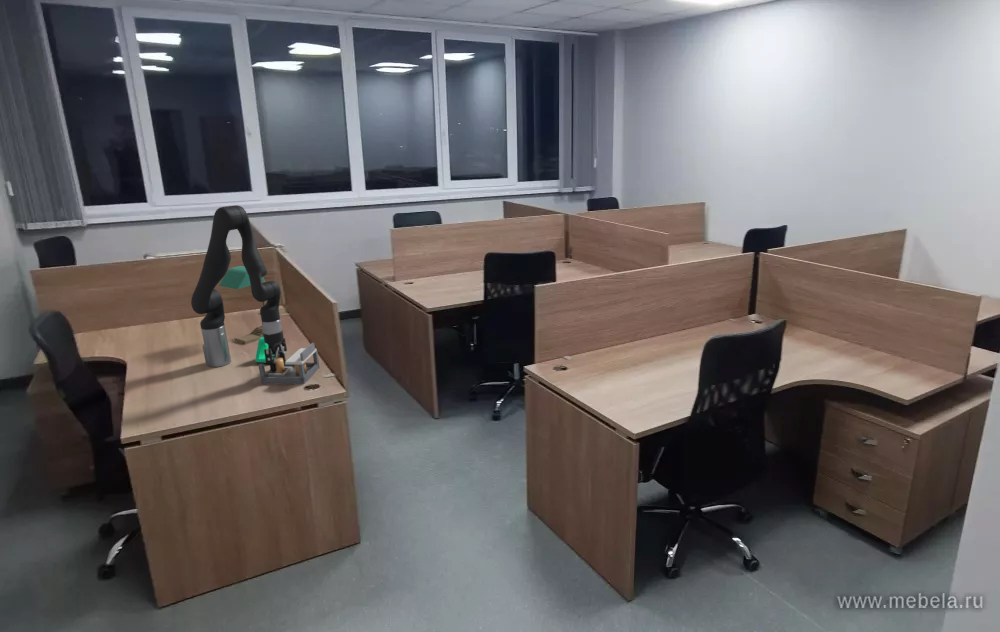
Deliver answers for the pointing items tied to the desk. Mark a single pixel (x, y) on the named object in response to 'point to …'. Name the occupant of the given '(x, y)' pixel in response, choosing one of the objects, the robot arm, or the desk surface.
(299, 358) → the lid
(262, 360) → the camera mount
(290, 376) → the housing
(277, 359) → the tan egg
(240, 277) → the banker's lamp
